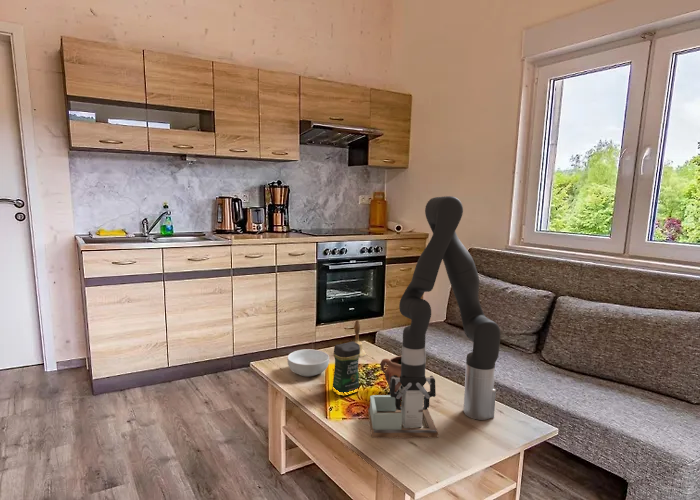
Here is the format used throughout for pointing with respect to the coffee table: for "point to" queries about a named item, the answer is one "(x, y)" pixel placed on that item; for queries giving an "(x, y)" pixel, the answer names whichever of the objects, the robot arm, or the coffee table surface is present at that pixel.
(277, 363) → the coffee table surface
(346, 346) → the coffee jar
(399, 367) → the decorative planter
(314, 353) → the cereal bowl
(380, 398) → the bracket
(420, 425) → the skincare box
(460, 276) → the robot arm
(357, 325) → the hand bell
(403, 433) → the board
